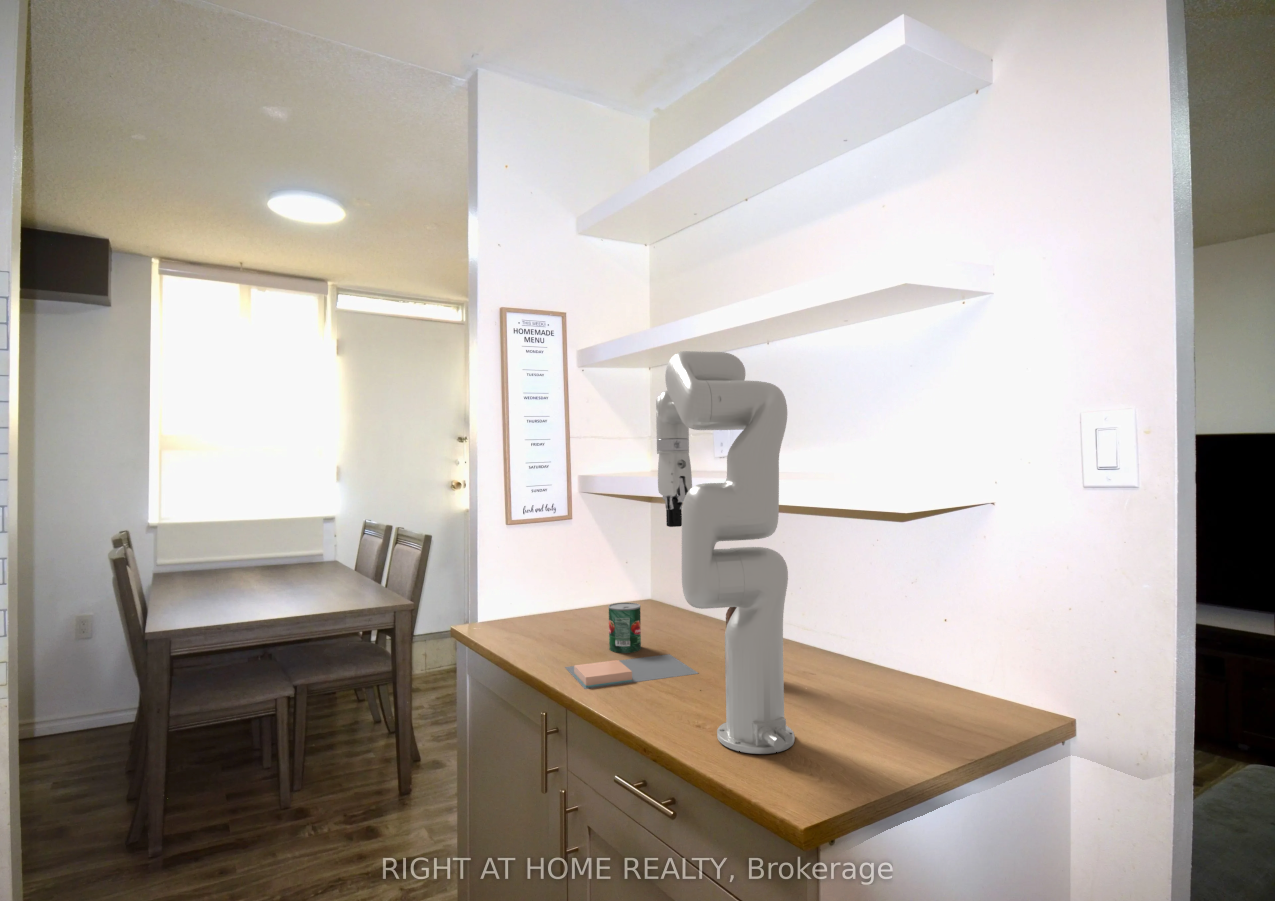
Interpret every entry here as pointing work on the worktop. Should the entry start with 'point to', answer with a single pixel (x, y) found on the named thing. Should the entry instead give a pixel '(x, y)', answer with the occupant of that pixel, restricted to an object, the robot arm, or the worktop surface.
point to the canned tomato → (624, 627)
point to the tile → (602, 673)
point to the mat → (649, 669)
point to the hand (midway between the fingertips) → (674, 526)
